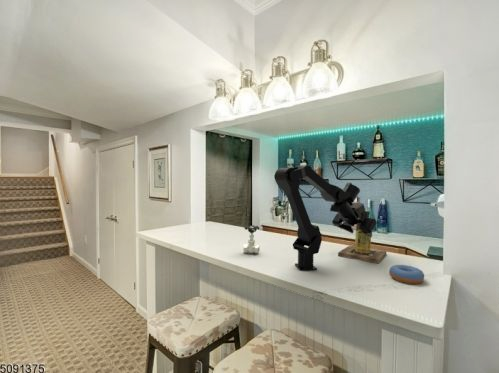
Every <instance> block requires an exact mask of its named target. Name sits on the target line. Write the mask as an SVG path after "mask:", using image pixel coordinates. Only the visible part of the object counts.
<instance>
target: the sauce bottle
mask: <svg viewBox="0 0 499 373" xmlns="http://www.w3.org/2000/svg"><path fill="white" fill-rule="evenodd" d="M370 214H371V212H370V210H367V209H365V211H364V212H362V213H361V214H360V215H361V217H360V218H359V219H361V220H364V218H365V217H369V218H370ZM355 227H356V229H355V241H354V246H355V251H354V253H356V254H362V255H368V256H370V254H369V253H370V249H371V243H372V237H369V236H367V235H366V234H364V233H363V232H362V231H361V230H360V225H357V224H356V226H355Z"/></svg>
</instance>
